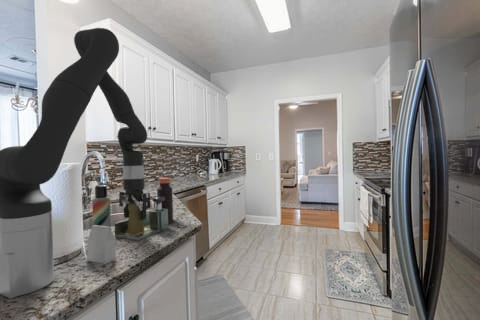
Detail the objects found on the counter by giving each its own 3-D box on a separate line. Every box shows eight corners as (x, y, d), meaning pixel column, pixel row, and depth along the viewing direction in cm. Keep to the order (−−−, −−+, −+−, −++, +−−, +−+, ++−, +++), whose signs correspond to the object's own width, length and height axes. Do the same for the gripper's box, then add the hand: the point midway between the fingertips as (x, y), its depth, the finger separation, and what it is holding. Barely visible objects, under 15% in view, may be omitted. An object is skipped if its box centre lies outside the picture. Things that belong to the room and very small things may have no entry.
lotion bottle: (95, 236, 88) (94, 184, 88) (112, 234, 90) (111, 183, 89) (91, 241, 83) (89, 186, 82) (109, 239, 85) (107, 185, 84)
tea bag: (105, 264, 66) (104, 229, 65) (87, 260, 68) (86, 227, 68) (115, 258, 69) (114, 225, 69) (99, 255, 71) (98, 223, 71)
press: (138, 241, 83) (138, 218, 83) (115, 236, 88) (114, 215, 88) (169, 227, 97) (169, 209, 97) (147, 224, 102) (147, 206, 102)
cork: (137, 233, 86) (136, 204, 86) (123, 232, 88) (122, 204, 88) (147, 228, 92) (146, 201, 92) (134, 227, 94) (133, 200, 93)
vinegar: (157, 223, 104) (156, 179, 104) (158, 219, 111) (157, 177, 110) (172, 222, 106) (171, 178, 105) (173, 218, 113) (172, 177, 112)
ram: (159, 219, 92) (158, 199, 92) (150, 218, 94) (149, 198, 94) (167, 216, 97) (166, 196, 97) (158, 215, 99) (158, 196, 99)
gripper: (112, 177, 89) (113, 219, 90) (139, 178, 83) (140, 223, 84) (128, 175, 96) (130, 214, 96) (154, 176, 90) (155, 217, 91)
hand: (134, 218), depth 90 cm, fingers open, 8 cm apart
